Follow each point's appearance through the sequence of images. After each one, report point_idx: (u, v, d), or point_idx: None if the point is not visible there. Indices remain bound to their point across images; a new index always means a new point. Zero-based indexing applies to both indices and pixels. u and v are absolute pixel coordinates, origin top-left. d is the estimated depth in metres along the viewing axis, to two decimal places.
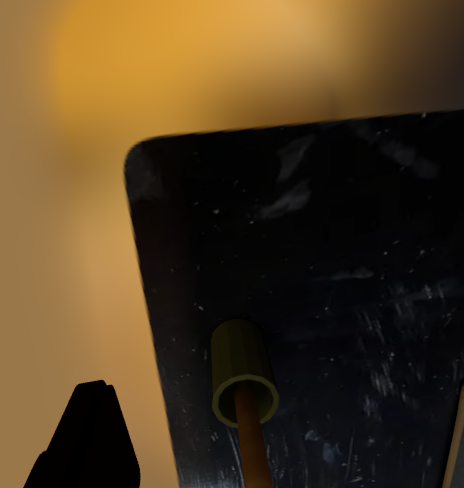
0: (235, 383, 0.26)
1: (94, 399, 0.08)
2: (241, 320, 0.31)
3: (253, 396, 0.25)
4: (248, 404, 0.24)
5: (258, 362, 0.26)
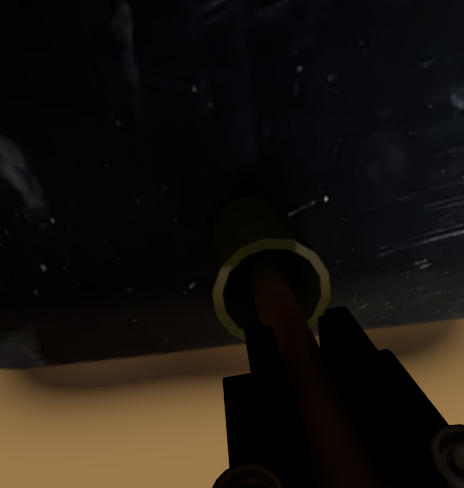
0: None
1: (266, 333, 0.09)
2: (210, 232, 0.20)
3: (260, 283, 0.14)
4: (258, 306, 0.13)
5: (217, 256, 0.15)
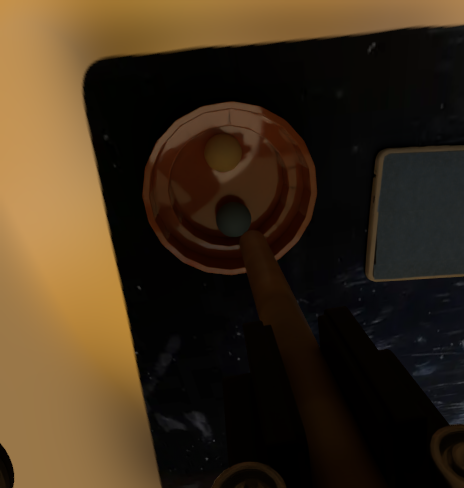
0: None
1: (266, 333, 0.09)
2: None
3: (259, 283, 0.14)
4: (257, 306, 0.13)
5: None
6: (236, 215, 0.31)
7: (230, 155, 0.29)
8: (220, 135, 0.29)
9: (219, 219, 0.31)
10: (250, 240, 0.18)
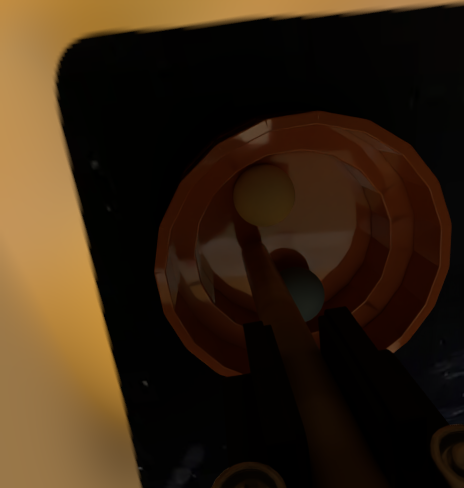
0: None
1: (266, 333, 0.09)
2: None
3: (259, 292, 0.14)
4: (259, 315, 0.13)
5: None
6: (305, 294, 0.19)
7: (276, 201, 0.17)
8: (275, 167, 0.18)
9: None
10: (250, 251, 0.18)
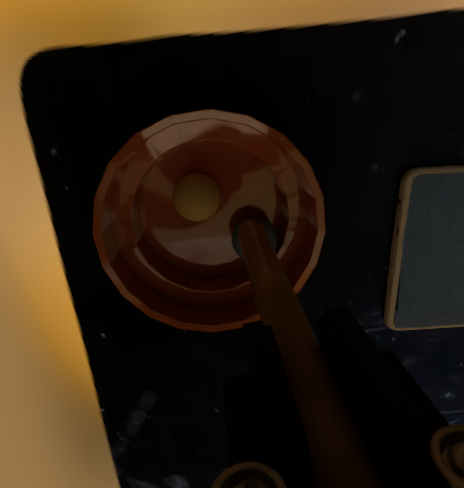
0: None
1: (266, 333, 0.09)
2: None
3: (254, 284, 0.14)
4: None
5: None
6: (273, 240, 0.24)
7: (211, 215, 0.23)
8: (208, 187, 0.23)
9: None
10: (243, 235, 0.18)
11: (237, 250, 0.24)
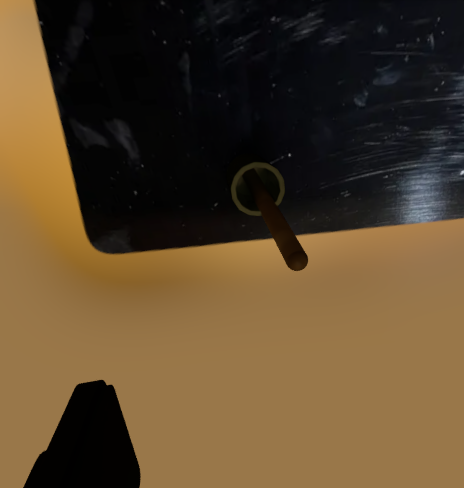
0: None
1: (94, 399, 0.08)
2: None
3: (256, 198, 0.31)
4: None
5: (232, 174, 0.32)
6: None
7: None
8: None
9: None
10: (246, 174, 0.35)
11: None
